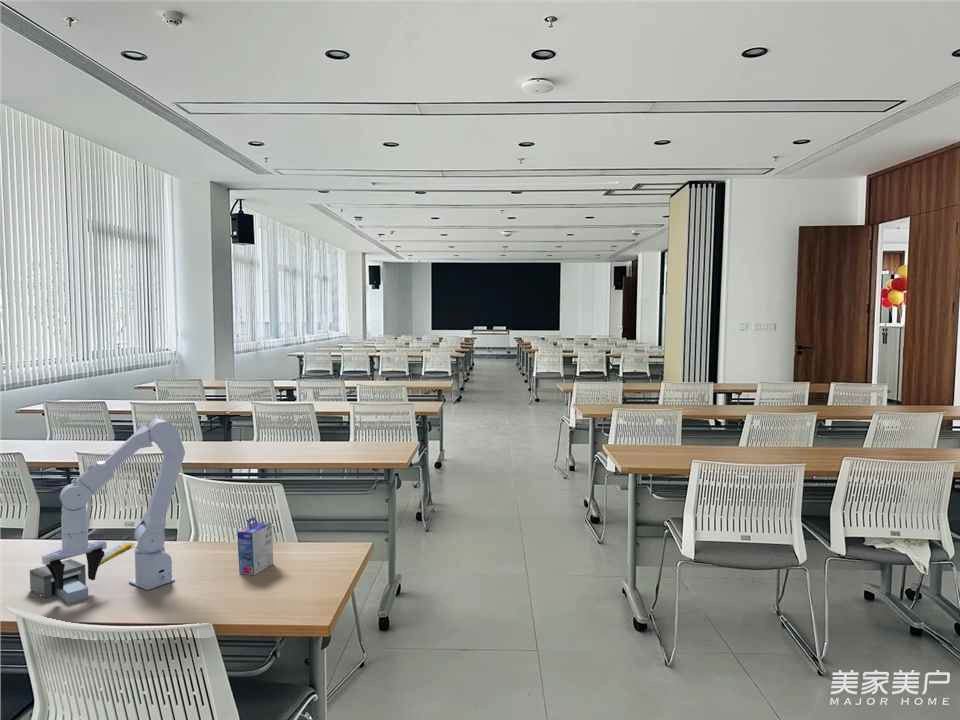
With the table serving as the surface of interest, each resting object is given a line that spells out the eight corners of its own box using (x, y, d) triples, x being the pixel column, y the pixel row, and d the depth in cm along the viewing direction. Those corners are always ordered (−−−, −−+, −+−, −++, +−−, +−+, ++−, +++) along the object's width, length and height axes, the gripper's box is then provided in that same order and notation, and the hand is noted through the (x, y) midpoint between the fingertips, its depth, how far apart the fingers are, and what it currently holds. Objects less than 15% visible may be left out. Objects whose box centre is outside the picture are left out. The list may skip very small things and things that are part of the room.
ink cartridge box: (257, 561, 192) (257, 513, 191) (274, 563, 191) (273, 514, 190) (237, 574, 182) (236, 523, 182) (254, 576, 181) (253, 524, 180)
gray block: (86, 585, 174) (86, 565, 174) (45, 598, 166) (44, 577, 166) (71, 578, 179) (70, 559, 179) (30, 590, 171) (29, 570, 170)
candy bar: (99, 567, 189) (99, 560, 189) (86, 566, 190) (86, 560, 189) (135, 547, 206) (135, 541, 206) (122, 547, 206) (122, 541, 206)
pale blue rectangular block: (88, 599, 166) (88, 587, 166) (68, 604, 163) (68, 593, 163) (68, 584, 176) (68, 573, 176) (49, 589, 173) (48, 578, 173)
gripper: (96, 522, 175) (97, 571, 175) (35, 536, 162) (37, 589, 163) (110, 526, 171) (111, 577, 171) (49, 541, 159) (50, 596, 159)
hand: (76, 583), depth 167 cm, fingers open, 7 cm apart
